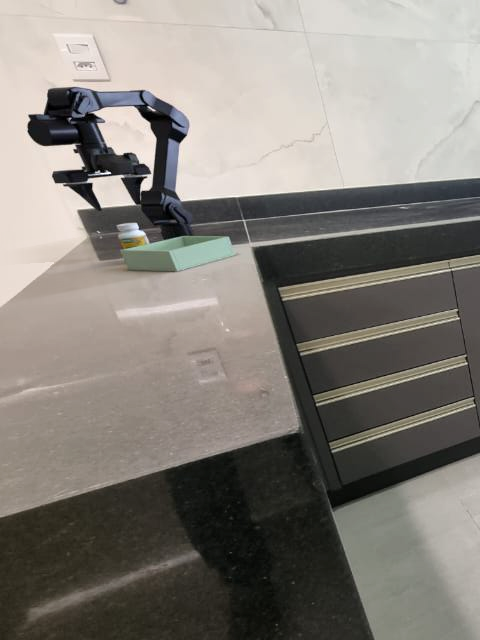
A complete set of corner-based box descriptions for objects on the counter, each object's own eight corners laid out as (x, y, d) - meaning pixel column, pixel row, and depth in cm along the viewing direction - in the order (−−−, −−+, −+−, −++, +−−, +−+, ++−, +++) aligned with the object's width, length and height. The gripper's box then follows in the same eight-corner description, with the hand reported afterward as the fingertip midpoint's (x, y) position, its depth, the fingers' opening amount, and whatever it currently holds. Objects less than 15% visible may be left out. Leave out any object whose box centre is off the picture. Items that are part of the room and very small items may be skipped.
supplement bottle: (158, 257, 142) (142, 221, 138) (155, 261, 138) (138, 224, 134) (132, 260, 140) (115, 224, 136) (128, 264, 136) (110, 227, 132)
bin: (190, 253, 144) (182, 236, 142) (235, 254, 141) (228, 236, 139) (128, 269, 131) (119, 250, 129) (177, 271, 127) (168, 251, 125)
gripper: (69, 145, 121) (102, 214, 128) (153, 140, 138) (178, 201, 144) (35, 146, 124) (69, 214, 131) (122, 141, 140) (148, 202, 147)
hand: (119, 207), depth 138 cm, fingers open, 9 cm apart
